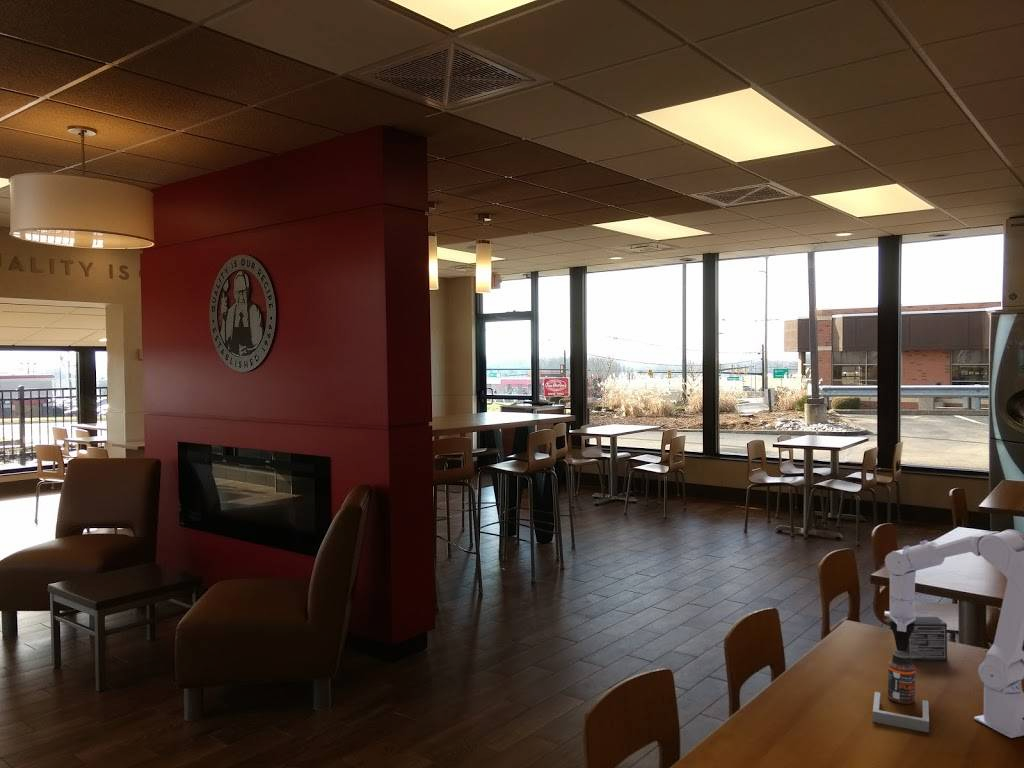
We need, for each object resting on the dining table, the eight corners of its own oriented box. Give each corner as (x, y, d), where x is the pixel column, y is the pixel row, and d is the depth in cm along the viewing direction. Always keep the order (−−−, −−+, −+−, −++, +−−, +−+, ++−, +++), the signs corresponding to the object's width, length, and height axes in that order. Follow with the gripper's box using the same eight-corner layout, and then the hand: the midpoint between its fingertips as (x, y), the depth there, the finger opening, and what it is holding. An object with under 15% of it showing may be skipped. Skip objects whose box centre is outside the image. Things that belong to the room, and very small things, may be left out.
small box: (937, 652, 215) (937, 615, 215) (948, 662, 209) (948, 624, 208) (898, 651, 216) (898, 615, 216) (907, 661, 210) (907, 623, 209)
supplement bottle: (900, 706, 183) (900, 660, 183) (882, 696, 189) (882, 651, 189) (920, 703, 185) (921, 657, 184) (902, 692, 191) (902, 648, 190)
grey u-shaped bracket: (874, 701, 186) (874, 691, 186) (928, 711, 181) (928, 700, 181) (872, 721, 176) (872, 711, 176) (928, 732, 171) (929, 721, 171)
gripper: (885, 587, 201) (885, 637, 202) (883, 603, 188) (883, 657, 189) (915, 590, 198) (915, 642, 199) (915, 607, 185) (915, 662, 186)
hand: (901, 650), depth 194 cm, fingers closed
